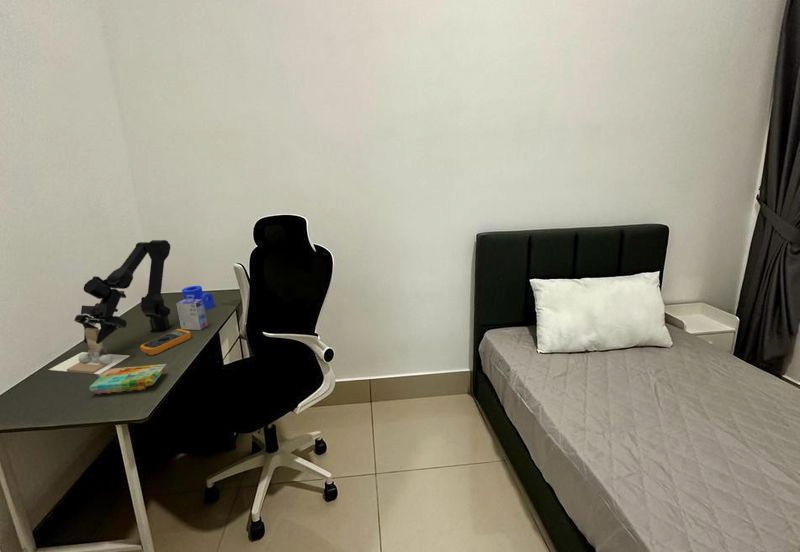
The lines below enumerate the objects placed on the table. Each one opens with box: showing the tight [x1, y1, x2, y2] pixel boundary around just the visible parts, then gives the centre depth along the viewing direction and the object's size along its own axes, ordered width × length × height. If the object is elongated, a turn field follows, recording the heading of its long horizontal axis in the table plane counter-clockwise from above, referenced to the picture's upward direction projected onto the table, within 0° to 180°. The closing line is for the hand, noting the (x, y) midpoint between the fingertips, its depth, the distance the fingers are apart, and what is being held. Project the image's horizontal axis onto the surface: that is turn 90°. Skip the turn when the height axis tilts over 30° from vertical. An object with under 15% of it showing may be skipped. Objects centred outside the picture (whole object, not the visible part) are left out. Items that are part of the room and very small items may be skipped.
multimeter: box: [140, 328, 192, 356], centre depth 186 cm, size 9×18×3 cm, turn 150°
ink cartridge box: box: [175, 295, 209, 331], centre depth 200 cm, size 10×6×14 cm, turn 78°
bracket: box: [181, 285, 216, 311], centre depth 229 cm, size 20×9×8 cm, turn 51°
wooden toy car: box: [83, 328, 108, 358], centre depth 171 cm, size 3×5×11 cm
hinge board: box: [48, 351, 130, 378], centre depth 173 cm, size 14×23×4 cm, turn 76°
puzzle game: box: [88, 363, 168, 395], centre depth 157 cm, size 12×5×20 cm
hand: (91, 343), depth 170 cm, fingers closed on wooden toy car, 5 cm apart
